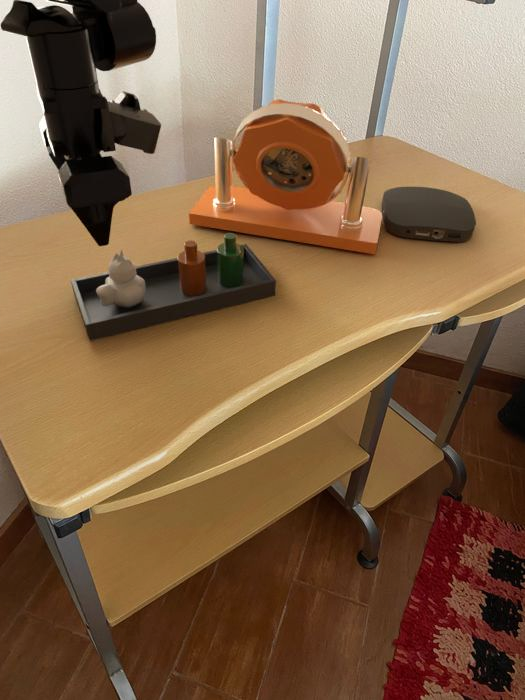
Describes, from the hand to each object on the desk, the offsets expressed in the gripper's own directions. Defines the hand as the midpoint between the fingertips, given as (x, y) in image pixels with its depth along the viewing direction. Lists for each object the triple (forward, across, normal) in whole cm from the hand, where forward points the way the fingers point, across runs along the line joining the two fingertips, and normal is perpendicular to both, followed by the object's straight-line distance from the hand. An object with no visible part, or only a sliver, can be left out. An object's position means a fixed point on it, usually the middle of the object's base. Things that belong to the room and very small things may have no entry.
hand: (95, 225), depth 61 cm
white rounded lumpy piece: (+11, -1, -2) cm, 12 cm away
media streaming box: (+12, +4, -55) cm, 56 cm away
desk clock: (+12, +11, -32) cm, 36 cm away
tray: (+12, -1, -9) cm, 15 cm away
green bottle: (+11, -1, -17) cm, 20 cm away
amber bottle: (+11, -1, -11) cm, 16 cm away
